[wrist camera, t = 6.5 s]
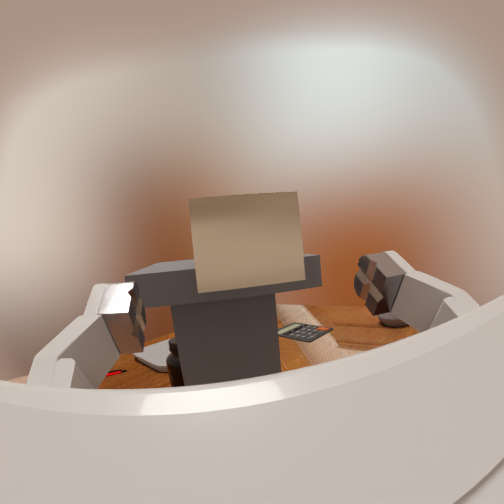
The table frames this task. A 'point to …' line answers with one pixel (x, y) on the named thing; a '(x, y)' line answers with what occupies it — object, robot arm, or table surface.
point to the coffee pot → (390, 320)
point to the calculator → (303, 332)
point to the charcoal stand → (220, 321)
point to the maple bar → (246, 240)
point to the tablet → (155, 355)
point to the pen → (115, 372)
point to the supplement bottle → (174, 365)
